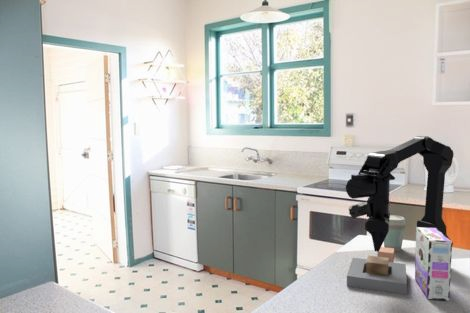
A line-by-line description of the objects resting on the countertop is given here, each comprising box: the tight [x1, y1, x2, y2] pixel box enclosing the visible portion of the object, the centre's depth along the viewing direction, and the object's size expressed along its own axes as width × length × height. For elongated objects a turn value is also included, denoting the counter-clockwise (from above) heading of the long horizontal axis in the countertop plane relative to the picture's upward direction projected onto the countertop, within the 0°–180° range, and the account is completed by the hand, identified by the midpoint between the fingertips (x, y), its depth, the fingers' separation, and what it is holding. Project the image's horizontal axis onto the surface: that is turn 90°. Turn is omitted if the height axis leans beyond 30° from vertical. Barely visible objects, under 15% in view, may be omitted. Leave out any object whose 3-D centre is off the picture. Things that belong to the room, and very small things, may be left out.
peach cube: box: [376, 246, 395, 263], centre depth 129 cm, size 5×5×5 cm
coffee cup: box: [383, 214, 407, 252], centre depth 144 cm, size 8×8×12 cm
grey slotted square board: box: [346, 257, 408, 295], centre depth 117 cm, size 16×16×3 cm
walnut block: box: [366, 255, 389, 276], centre depth 117 cm, size 6×6×5 cm
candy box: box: [414, 226, 453, 302], centre depth 109 cm, size 14×6×16 cm, turn 168°
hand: (377, 246), depth 116 cm, fingers open, 9 cm apart
